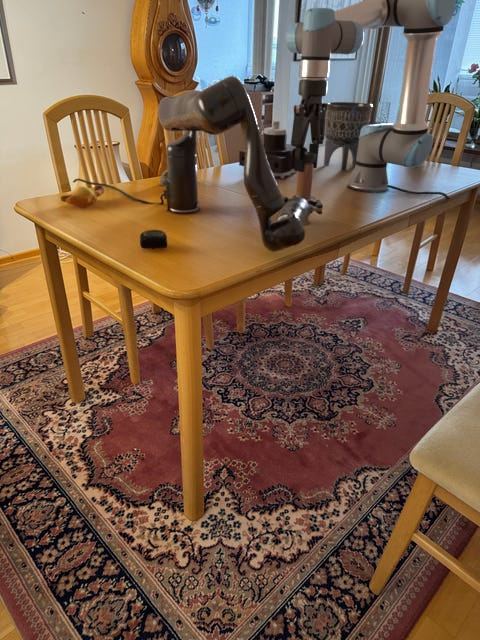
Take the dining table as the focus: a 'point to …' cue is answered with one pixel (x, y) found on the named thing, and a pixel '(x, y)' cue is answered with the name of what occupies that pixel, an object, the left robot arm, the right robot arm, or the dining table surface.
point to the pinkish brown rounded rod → (305, 182)
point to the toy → (83, 196)
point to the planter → (345, 129)
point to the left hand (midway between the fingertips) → (304, 198)
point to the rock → (164, 177)
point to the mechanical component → (276, 151)
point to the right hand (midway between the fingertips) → (305, 169)
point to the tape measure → (153, 239)
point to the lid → (310, 157)
